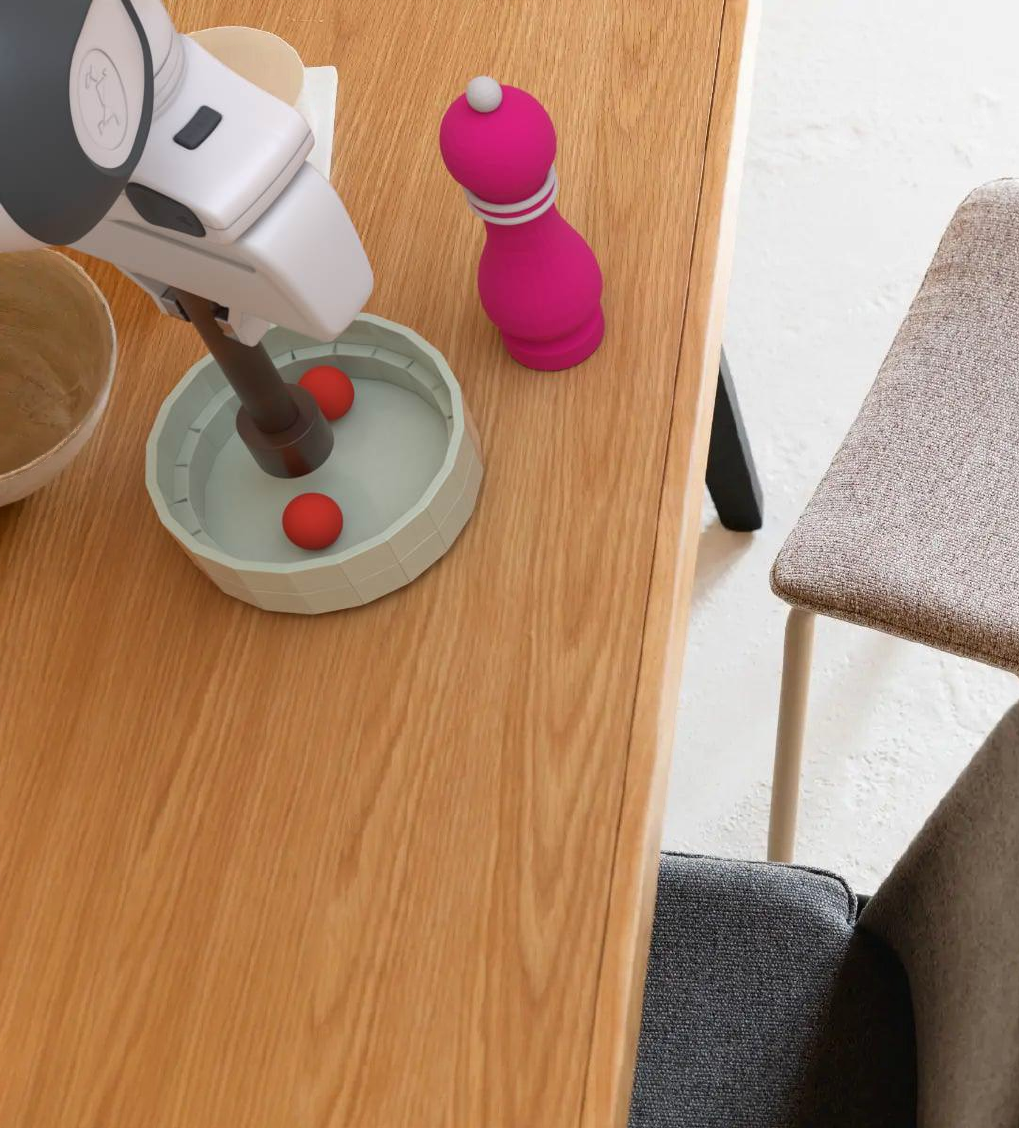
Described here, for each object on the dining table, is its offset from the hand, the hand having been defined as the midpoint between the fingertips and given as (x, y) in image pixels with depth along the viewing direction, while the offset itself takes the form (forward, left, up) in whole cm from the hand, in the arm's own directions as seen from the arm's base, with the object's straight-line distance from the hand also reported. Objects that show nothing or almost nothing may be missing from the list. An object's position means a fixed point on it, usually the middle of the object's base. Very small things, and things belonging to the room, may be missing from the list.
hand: (219, 321), depth 74 cm
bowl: (0, -1, -15) cm, 15 cm away
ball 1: (+4, +2, -13) cm, 13 cm away
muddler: (0, 0, -11) cm, 11 cm away
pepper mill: (+15, -7, -15) cm, 23 cm away
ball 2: (-3, -3, -13) cm, 13 cm away
